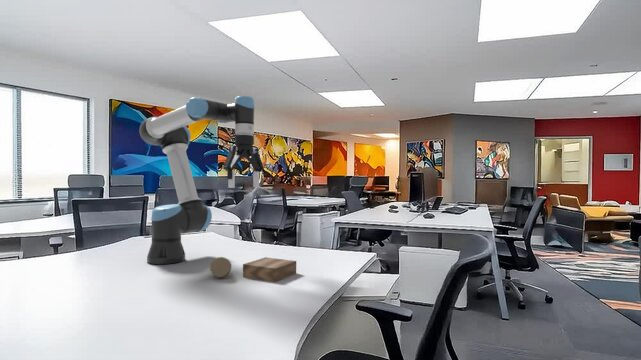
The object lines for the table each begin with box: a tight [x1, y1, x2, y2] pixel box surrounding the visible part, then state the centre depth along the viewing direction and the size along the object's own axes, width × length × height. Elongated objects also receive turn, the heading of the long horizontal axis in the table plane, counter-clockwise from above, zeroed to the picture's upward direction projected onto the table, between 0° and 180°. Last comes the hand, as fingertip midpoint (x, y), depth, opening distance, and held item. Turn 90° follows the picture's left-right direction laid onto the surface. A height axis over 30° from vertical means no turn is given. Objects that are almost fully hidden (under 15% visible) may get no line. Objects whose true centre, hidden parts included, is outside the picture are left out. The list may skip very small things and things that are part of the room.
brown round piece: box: [209, 256, 232, 278], centre depth 141 cm, size 8×10×10 cm
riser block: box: [242, 257, 297, 283], centre depth 144 cm, size 14×14×5 cm
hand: (244, 187), depth 159 cm, fingers open, 13 cm apart
